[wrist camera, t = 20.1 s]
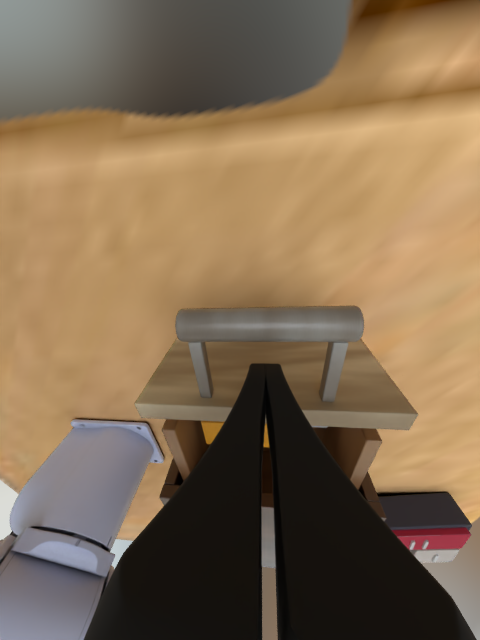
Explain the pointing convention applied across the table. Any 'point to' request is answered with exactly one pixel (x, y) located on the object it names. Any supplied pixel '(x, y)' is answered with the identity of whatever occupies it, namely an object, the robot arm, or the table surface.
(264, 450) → the drawer
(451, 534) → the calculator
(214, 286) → the table surface
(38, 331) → the table surface
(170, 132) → the table surface
